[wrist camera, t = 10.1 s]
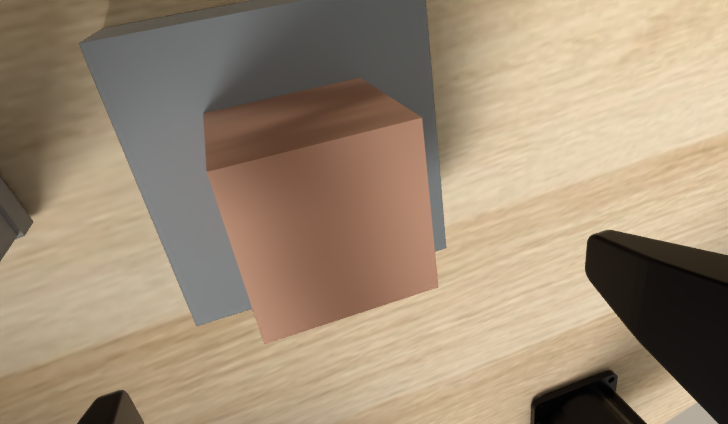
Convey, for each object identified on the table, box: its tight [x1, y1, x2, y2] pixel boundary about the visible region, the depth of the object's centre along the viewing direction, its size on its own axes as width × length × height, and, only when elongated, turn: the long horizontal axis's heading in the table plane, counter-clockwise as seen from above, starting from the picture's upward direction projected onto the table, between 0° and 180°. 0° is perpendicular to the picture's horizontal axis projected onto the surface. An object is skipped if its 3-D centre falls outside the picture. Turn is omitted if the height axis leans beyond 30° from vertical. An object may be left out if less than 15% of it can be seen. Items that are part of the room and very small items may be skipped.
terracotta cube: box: [203, 78, 438, 344], centre depth 14 cm, size 5×5×5 cm
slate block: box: [79, 0, 446, 326], centre depth 18 cm, size 10×10×4 cm
